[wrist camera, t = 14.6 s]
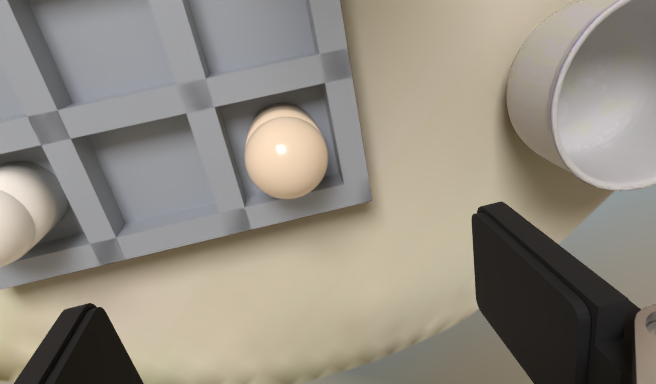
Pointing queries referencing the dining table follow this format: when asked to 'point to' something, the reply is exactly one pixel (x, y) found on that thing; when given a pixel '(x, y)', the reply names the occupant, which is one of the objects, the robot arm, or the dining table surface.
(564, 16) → the teacup
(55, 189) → the cream egg
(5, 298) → the dining table surface
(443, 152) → the dining table surface
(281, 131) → the beige rounded lump
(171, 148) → the egg tray
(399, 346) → the dining table surface
